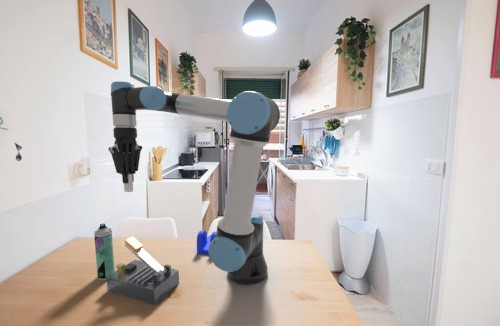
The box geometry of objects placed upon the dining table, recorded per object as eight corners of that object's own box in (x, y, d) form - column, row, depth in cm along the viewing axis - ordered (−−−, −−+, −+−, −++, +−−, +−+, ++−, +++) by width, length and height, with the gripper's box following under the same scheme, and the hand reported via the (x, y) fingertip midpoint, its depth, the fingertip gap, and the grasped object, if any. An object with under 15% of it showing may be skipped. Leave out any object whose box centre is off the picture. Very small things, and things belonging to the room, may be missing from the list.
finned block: (179, 283, 87) (178, 259, 86) (154, 305, 76) (153, 278, 75) (135, 272, 94) (134, 250, 93) (107, 290, 83) (105, 266, 82)
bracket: (214, 255, 107) (214, 235, 106) (197, 253, 109) (196, 234, 108) (226, 238, 125) (226, 221, 124) (211, 237, 127) (210, 220, 126)
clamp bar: (166, 273, 83) (168, 268, 82) (159, 278, 80) (162, 273, 79) (130, 242, 87) (132, 236, 86) (123, 245, 84) (125, 239, 84)
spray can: (109, 270, 95) (105, 220, 93) (117, 274, 92) (114, 223, 90) (94, 277, 91) (90, 225, 88) (102, 282, 88) (98, 228, 85)
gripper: (132, 127, 96) (135, 187, 99) (100, 126, 84) (105, 194, 87) (146, 127, 93) (149, 188, 96) (117, 126, 81) (121, 196, 84)
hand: (128, 191), depth 91 cm, fingers closed
